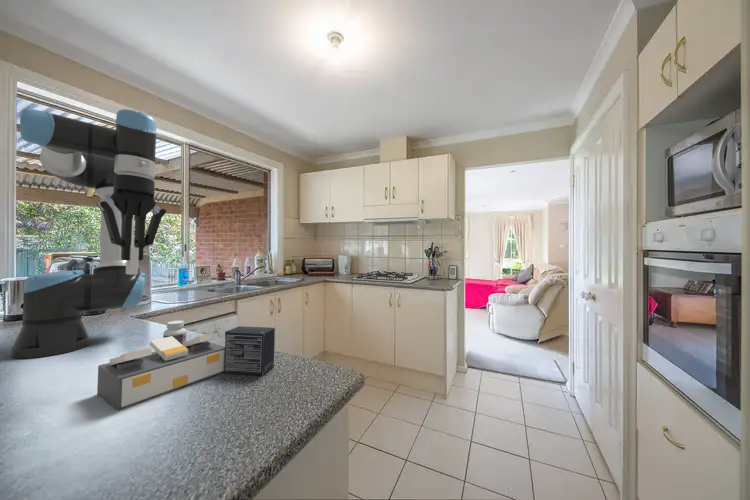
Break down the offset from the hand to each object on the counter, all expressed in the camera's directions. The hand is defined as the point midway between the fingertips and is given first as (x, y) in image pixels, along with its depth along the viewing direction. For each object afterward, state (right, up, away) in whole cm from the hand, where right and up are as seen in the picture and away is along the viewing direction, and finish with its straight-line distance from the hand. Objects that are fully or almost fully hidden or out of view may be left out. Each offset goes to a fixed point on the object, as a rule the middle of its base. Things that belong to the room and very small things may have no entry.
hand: (131, 274), depth 67 cm
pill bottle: (+1, -25, +12) cm, 28 cm away
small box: (+27, -25, +4) cm, 37 cm away
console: (+11, -25, -3) cm, 27 cm away
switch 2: (+11, -17, -3) cm, 21 cm away
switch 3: (+15, -17, +3) cm, 23 cm away
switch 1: (+8, -17, -9) cm, 21 cm away
